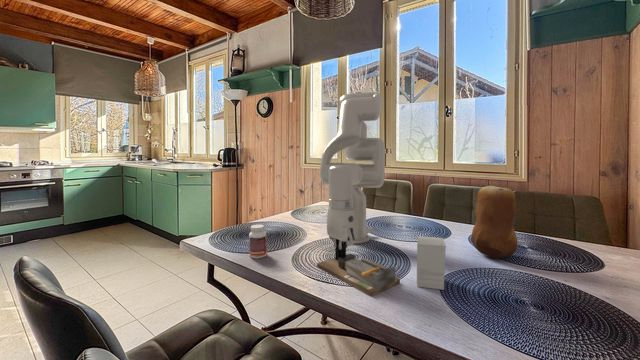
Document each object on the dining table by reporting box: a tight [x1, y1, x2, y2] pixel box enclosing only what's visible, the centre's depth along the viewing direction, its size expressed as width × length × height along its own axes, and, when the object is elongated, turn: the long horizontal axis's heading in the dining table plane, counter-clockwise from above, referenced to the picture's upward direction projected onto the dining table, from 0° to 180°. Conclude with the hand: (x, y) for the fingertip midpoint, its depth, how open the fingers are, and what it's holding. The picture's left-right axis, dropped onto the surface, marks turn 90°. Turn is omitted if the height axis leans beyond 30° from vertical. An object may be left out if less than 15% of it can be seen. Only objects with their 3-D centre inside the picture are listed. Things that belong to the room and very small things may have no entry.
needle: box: [361, 267, 382, 276], centre depth 83 cm, size 8×2×4 cm, turn 127°
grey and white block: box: [338, 253, 376, 271], centre depth 90 cm, size 5×13×3 cm, turn 37°
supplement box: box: [416, 235, 447, 291], centre depth 85 cm, size 7×7×13 cm
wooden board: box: [316, 257, 401, 297], centre depth 91 cm, size 12×24×5 cm, turn 37°
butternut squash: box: [470, 185, 518, 260], centre depth 103 cm, size 14×13×25 cm
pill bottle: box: [248, 224, 268, 259], centre depth 107 cm, size 6×6×11 cm
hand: (340, 259), depth 97 cm, fingers closed
